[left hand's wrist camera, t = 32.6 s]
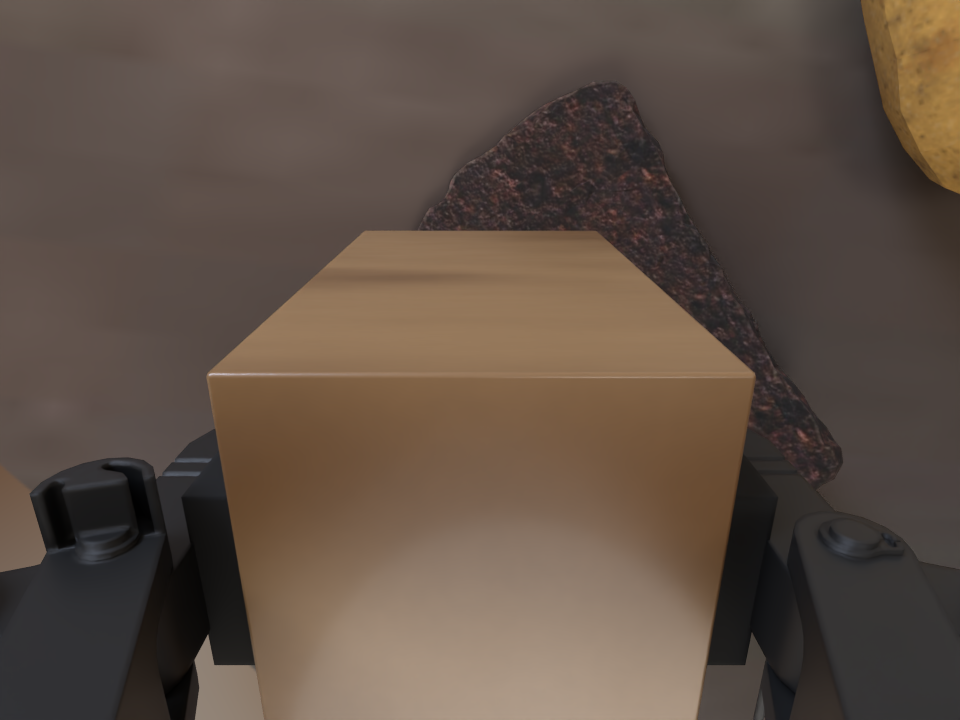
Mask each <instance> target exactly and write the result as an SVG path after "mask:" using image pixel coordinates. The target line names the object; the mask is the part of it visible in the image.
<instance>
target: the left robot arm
mask: <svg viewBox="0 0 960 720" xmlns="http://www.w3.org/2000/svg"><path fill="white" fill-rule="evenodd" d="M30 497H31V501H32V504H33V507H34V511H35V514H36V517H37V521H38V524H39V527H40V531H41V534H42V537H43V541H44V544H45V547H46V551H47V553H46V555H45V557H44V559H43V560H42V562H41V564H39V565H35V566H31V567H26V568H20V569H15V570H11V571H5V572H0V720H195V714H196V706H197V699H198V692H199V683H198V676H197V671H196V666H195V661H194V659H195V657H196V656H197V654H198V652H199V650H200V648H201V646H202V644H203V643H204V641H205V639H206V637H207V635H209V640H210V645H211V650H212V655H213V660H214V665H255V661H254V655H253V649H252V643H251V637H250V631H249V625H248V620H247V614H246V608H245V602H244V596H243V590H242V584H241V578H240V572H239V566H238V560H237V554H236V548H235V543H234V537H233V531H232V525H231V519H230V513H229V507H228V501H227V495H226V489H225V483H224V477H223V471H222V466H221V460H220V454H219V448H218V442H217V436H216V430H215V429H214V430H212V431H210V432H208V433H207V434H205V435H203V436H201V437H200V438H198V439H196V440H194V441H193V442H191V443H189V444H188V446H187V447H186V448H185V449H184V450H183V451H182V452H181V453H180V454H179V455H178V456H177V458H176V459H175V462H172V463H171V464H170V465H169V466H168V467H167V468H166V470H165V471H164V472H163V475H162V476H159V477H158V478H157V479H156V478H155V474H154V469H153V466H151V465H150V464H148V463H147V462H145V461H144V460H139V459H134V458H128V457H126V458H107V459H102V460H97V461H92V462H87V463H83V464H80V465H77V466H75V467H72V468H69V469H66V470H63V471H61V472H59V473H57V474H55V475H54V476H52V477H50V478H48V479H46V480H45V481H43V482H41V483H40V484H39V485H38V486H37V487H36V488H35V489H34V490H33V491H32V492H31V493H30ZM751 633H753V635H754V636H755V638H756V640H757V642H758V644H759V646H760V648H761V649H762V651H763V653H764V655H765V657H766V661H765V666H764V671H763V675H762V680H761V685H760V690H759V694H758V699H757V704H756V708H755V713H754V719H753V720H764V717H765V720H960V569H955V568H949V567H944V566H939V565H934V564H929V563H924V562H920V561H918V559H917V557H916V556H915V554H914V552H913V551H912V549H911V548H910V547H909V546H908V545H907V544H906V542H905V541H904V540H903V539H902V538H901V537H899V536H898V535H896V534H895V533H893V532H892V531H890V530H889V529H887V528H886V527H884V526H882V525H879V524H877V523H875V522H872V521H870V520H868V519H865V518H863V517H859V516H855V515H851V514H847V513H843V512H835V511H834V509H833V508H832V507H831V506H830V505H829V504H828V503H827V502H826V501H825V500H824V499H823V498H822V496H821V495H820V494H819V493H818V492H817V491H816V490H815V489H814V488H813V487H812V486H811V485H810V483H809V482H808V481H807V480H806V479H805V478H804V477H803V476H802V475H801V474H798V473H797V469H796V468H795V467H794V466H793V465H792V464H791V463H790V462H789V461H788V460H785V456H784V455H783V454H782V453H781V452H780V451H779V450H778V449H777V448H776V447H775V446H774V445H773V443H772V442H771V441H769V440H768V439H766V438H764V437H762V436H761V435H759V434H757V433H755V432H754V431H752V430H750V429H748V428H747V433H746V438H745V444H744V450H743V456H742V462H741V468H740V474H739V480H738V485H737V491H736V497H735V503H734V509H733V515H732V521H731V527H730V532H729V538H728V544H727V550H726V556H725V562H724V568H723V574H722V579H721V585H720V591H719V597H718V603H717V609H716V615H715V621H714V626H713V632H712V638H711V644H710V650H709V656H708V662H707V665H745V663H746V658H747V653H748V648H749V643H750V638H751Z"/></svg>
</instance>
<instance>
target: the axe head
mask: <svg viewBox="0 0 960 720" xmlns="http://www.w3.org/2000/svg"><path fill="white" fill-rule="evenodd" d="M417 231H597V232H598V233H599V234H600V235H602V236H603V237H604V238H605V239H606V240H607V241H608V242H609V243H611V244H612V245H613V246H614V247H615V248H616V249H617V250H618V251H619V252H621V253H622V254H623V255H624V256H625V257H626V258H627V259H628V260H629V261H631V262H632V263H633V264H634V265H635V266H636V267H637V268H638V269H639V270H641V271H642V272H643V273H644V274H645V275H646V276H647V277H648V278H650V279H651V280H652V281H653V282H654V283H655V284H656V285H657V286H658V287H660V288H661V289H662V290H663V291H664V292H665V293H666V294H667V295H668V296H670V297H671V298H672V299H673V300H674V301H675V302H676V303H677V304H679V305H680V306H681V307H682V308H683V309H684V310H685V311H686V312H687V313H689V314H690V315H691V316H692V317H693V318H694V319H695V320H696V321H697V322H699V323H700V324H701V325H702V326H703V327H704V328H705V329H706V330H707V331H709V332H710V333H711V334H712V335H713V336H714V337H715V338H716V339H718V340H719V341H720V342H721V343H722V344H723V345H724V346H725V347H726V348H728V349H729V350H730V351H731V352H732V353H733V354H734V355H735V356H736V357H738V358H739V359H740V360H741V361H742V362H743V363H744V364H745V365H746V366H748V367H749V368H750V369H751V370H752V371H753V372H754V373H755V376H756V380H755V386H754V392H753V397H752V403H751V409H750V415H749V421H748V427H747V428H748V429H750V430H752V431H754V432H755V433H757V434H759V435H761V436H762V437H764V438H766V439H768V440H769V441H771V442H772V443H773V445H774V446H775V447H776V448H777V449H778V450H779V451H780V452H781V453H782V454H783V455H784V456H785V460H788V461H789V462H790V463H791V464H792V465H793V466H794V467H795V468H796V469H797V473H798V474H801V475H802V476H803V477H804V478H805V479H806V480H807V481H808V482H809V483H810V485H811V486H812V487H813V488H814V489H815V490H816V489H818V488H819V487H820V486H821V485H823V484H825V483H827V482H829V481H831V480H833V479H834V478H835V477H836V475H837V473H838V471H839V469H840V467H841V465H842V464H843V458H842V451H841V448H840V447H839V445H838V444H837V443H836V442H835V441H834V439H833V438H832V436H831V434H830V432H829V430H828V428H827V427H826V426H825V425H824V424H823V423H822V422H821V421H820V420H819V418H818V417H817V416H816V415H815V413H814V412H813V411H812V410H811V408H810V406H809V404H808V402H807V401H806V399H805V397H804V396H803V395H802V393H801V392H800V391H799V389H798V388H797V387H796V385H795V384H794V383H793V382H792V381H791V380H790V379H789V378H788V377H787V376H786V375H785V374H784V373H783V372H782V370H781V369H780V368H779V367H778V365H777V364H776V362H775V361H774V359H773V358H772V356H771V355H770V353H769V352H768V350H767V349H766V347H765V344H764V342H763V340H762V338H761V336H760V334H759V331H758V323H756V322H755V321H754V320H753V318H752V315H751V312H750V311H749V310H748V309H747V308H746V307H745V306H744V305H743V304H742V303H741V302H740V301H739V300H738V298H737V296H736V294H735V292H734V291H733V289H732V287H731V286H730V284H729V283H728V281H727V279H726V277H725V275H724V272H723V270H722V268H721V266H720V265H719V264H718V262H717V261H716V260H715V258H714V257H713V256H712V254H711V252H710V250H709V247H708V245H707V243H706V242H705V241H704V239H703V238H702V236H701V235H700V233H699V232H698V230H697V229H696V228H695V226H694V224H693V223H692V221H691V219H690V218H689V216H688V214H687V212H686V210H685V208H684V205H683V203H682V201H681V199H680V197H679V195H678V194H677V192H676V190H675V189H674V187H673V185H672V184H671V182H670V180H669V177H668V174H667V172H666V169H665V165H664V155H663V152H662V150H661V148H660V145H659V143H658V142H657V140H656V139H655V138H654V137H653V136H652V135H651V134H650V133H649V132H648V131H647V130H646V128H645V127H644V124H643V122H642V120H641V117H640V114H639V111H638V108H637V105H636V102H635V100H634V98H633V97H632V95H631V94H630V92H629V91H628V89H627V88H626V87H625V86H623V85H622V84H620V83H618V82H617V81H594V82H592V83H590V84H588V85H586V86H584V87H582V88H580V89H578V90H576V91H573V92H571V93H569V94H566V95H564V96H562V97H559V98H557V99H555V100H553V101H551V102H549V103H547V104H545V105H543V106H542V107H540V108H539V109H537V110H536V111H534V112H533V113H532V114H530V115H529V116H528V117H526V118H525V119H524V120H523V121H521V122H520V123H519V124H518V125H517V126H516V127H515V128H514V129H513V130H512V131H510V132H509V133H508V134H506V135H504V137H503V138H502V139H501V140H500V142H499V143H498V144H497V145H496V146H495V147H493V148H492V149H490V150H489V151H487V152H486V153H484V154H483V155H481V156H479V157H478V158H476V159H474V160H472V161H470V162H469V163H467V164H466V165H465V166H463V167H462V168H461V169H460V170H459V171H458V172H457V173H456V174H455V175H454V176H453V178H452V180H451V182H450V186H449V190H448V192H447V194H446V196H445V197H444V199H443V201H442V202H440V203H439V204H437V205H435V206H433V207H431V208H429V210H428V211H427V213H426V215H425V216H424V218H423V220H422V222H421V224H420V226H419V228H418V230H417Z"/></svg>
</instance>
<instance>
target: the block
mask: <svg viewBox="0 0 960 720" xmlns="http://www.w3.org/2000/svg"><path fill="white" fill-rule="evenodd" d="M755 380H756V376H755V373H754V372H753V371H752V370H751V369H750V368H749V367H748V366H746V365H745V364H744V363H743V362H742V361H741V360H740V359H739V358H738V357H736V356H735V355H734V354H733V353H732V352H731V351H730V350H729V349H728V348H726V347H725V346H724V345H723V344H722V343H721V342H720V341H719V340H718V339H716V338H715V337H714V336H713V335H712V334H711V333H710V332H709V331H707V330H706V329H705V328H704V327H703V326H702V325H701V324H700V323H699V322H697V321H696V320H695V319H694V318H693V317H692V316H691V315H690V314H689V313H687V312H686V311H685V310H684V309H683V308H682V307H681V306H680V305H679V304H677V303H676V302H675V301H674V300H673V299H672V298H671V297H670V296H668V295H667V294H666V293H665V292H664V291H663V290H662V289H661V288H660V287H658V286H657V285H656V284H655V283H654V282H653V281H652V280H651V279H650V278H648V277H647V276H646V275H645V274H644V273H643V272H642V271H641V270H639V269H638V268H637V267H636V266H635V265H634V264H633V263H632V262H631V261H629V260H628V259H627V258H626V257H625V256H624V255H623V254H622V253H621V252H619V251H618V250H617V249H616V248H615V247H614V246H613V245H612V244H611V243H609V242H608V241H607V240H606V239H605V238H604V237H603V236H602V235H600V234H599V233H598V232H597V231H364V232H363V233H362V234H361V235H360V236H359V237H357V238H356V239H355V240H354V241H353V242H352V243H351V244H350V245H349V246H348V247H346V248H345V249H344V250H343V251H342V252H341V253H340V254H339V255H338V256H336V257H335V258H334V259H333V260H332V261H331V262H330V263H329V264H328V265H326V266H325V267H324V268H323V269H322V270H321V271H320V272H319V273H318V274H317V275H315V276H314V277H313V278H312V279H311V280H310V281H309V282H308V283H307V284H305V285H304V286H303V287H302V288H301V289H300V290H299V291H298V292H297V293H296V294H294V295H293V296H292V297H291V298H290V299H289V300H288V301H287V302H286V303H284V304H283V305H282V306H281V307H280V308H279V309H278V310H277V311H276V312H275V313H273V314H272V315H271V316H270V317H269V318H268V319H267V320H266V321H265V322H263V323H262V324H261V325H260V326H259V327H258V328H257V329H256V330H255V331H254V332H252V333H251V334H250V335H249V336H248V337H247V338H246V339H245V340H244V341H242V342H241V343H240V344H239V345H238V346H237V347H236V348H235V349H234V350H233V351H231V352H230V353H229V354H228V355H227V356H226V357H225V358H224V359H223V360H221V361H220V362H219V363H218V364H217V365H216V366H215V367H214V368H213V369H211V370H210V371H209V372H208V374H207V383H208V389H209V394H210V400H211V406H212V412H213V418H214V424H215V430H216V436H217V442H218V448H219V454H220V460H221V466H222V471H223V477H224V483H225V489H226V495H227V501H228V507H229V513H230V519H231V525H232V531H233V537H234V543H235V548H236V554H237V560H238V566H239V572H240V578H241V584H242V590H243V596H244V602H245V608H246V614H247V620H248V625H249V631H250V637H251V643H252V649H253V655H254V661H255V667H256V673H257V679H258V685H259V691H260V697H261V702H262V708H263V714H264V720H698V715H699V709H700V703H701V697H702V691H703V685H704V679H705V673H706V668H707V662H708V656H709V650H710V644H711V638H712V632H713V626H714V621H715V615H716V609H717V603H718V597H719V591H720V585H721V579H722V574H723V568H724V562H725V556H726V550H727V544H728V538H729V532H730V527H731V521H732V515H733V509H734V503H735V497H736V491H737V485H738V480H739V474H740V468H741V462H742V456H743V450H744V444H745V438H746V433H747V427H748V421H749V415H750V409H751V403H752V397H753V392H754V386H755Z"/></svg>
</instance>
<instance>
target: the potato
mask: <svg viewBox="0 0 960 720" xmlns="http://www.w3.org/2000/svg"><path fill="white" fill-rule="evenodd" d="M861 5H862V11H863V17H864V22H865V27H866V31H867V36H868V40H869V45H870V49H871V54H872V58H873V63H874V67H875V72H876V76H877V81H878V85H879V90H880V95H881V99H882V104H883V108H884V111H885V113H886V115H887V117H888V119H889V121H890V123H891V124H892V126H893V128H894V130H895V132H896V134H897V136H898V138H899V140H900V142H901V144H902V146H903V148H904V149H905V151H906V152H907V153H908V154H909V155H910V157H911V158H912V159H913V160H914V161H915V162H916V164H917V165H918V166H919V167H920V168H921V170H922V171H923V172H924V173H925V174H926V176H927V177H928V178H929V179H930V180H932V181H933V182H935V183H937V184H939V185H941V186H942V187H944V188H946V189H949V190H951V191H954V192H956V193H959V194H960V0H861Z"/></svg>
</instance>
